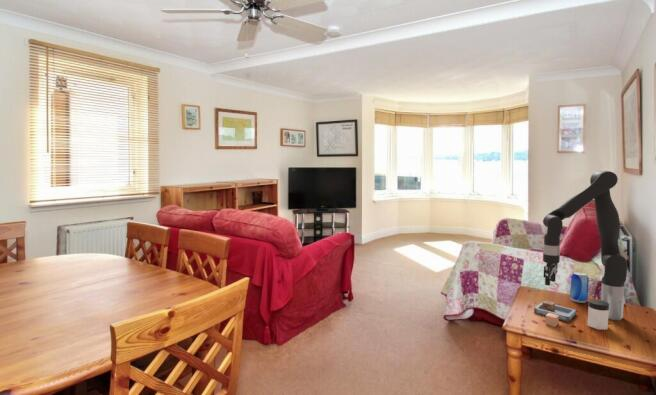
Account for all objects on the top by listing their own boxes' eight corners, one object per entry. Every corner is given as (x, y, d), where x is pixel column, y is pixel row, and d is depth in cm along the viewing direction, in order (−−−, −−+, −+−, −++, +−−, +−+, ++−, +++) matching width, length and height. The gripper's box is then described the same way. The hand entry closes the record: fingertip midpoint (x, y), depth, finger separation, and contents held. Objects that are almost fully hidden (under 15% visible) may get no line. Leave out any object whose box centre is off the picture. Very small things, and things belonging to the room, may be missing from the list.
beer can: (590, 303, 212) (592, 275, 210) (575, 303, 212) (577, 275, 210) (581, 297, 220) (582, 271, 219) (566, 298, 220) (568, 271, 219)
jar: (612, 328, 181) (613, 303, 180) (602, 331, 177) (604, 306, 176) (592, 321, 189) (593, 297, 188) (582, 324, 185) (584, 300, 184)
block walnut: (554, 310, 200) (555, 302, 200) (551, 313, 197) (552, 304, 197) (545, 308, 204) (545, 300, 203) (542, 310, 201) (542, 302, 200)
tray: (575, 314, 197) (576, 309, 197) (568, 321, 188) (568, 317, 188) (542, 306, 209) (542, 301, 208) (533, 312, 200) (534, 308, 200)
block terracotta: (558, 324, 186) (558, 315, 185) (555, 327, 183) (555, 318, 182) (548, 321, 189) (548, 312, 189) (545, 324, 186) (545, 315, 186)
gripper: (555, 256, 190) (553, 288, 191) (563, 251, 199) (562, 281, 201) (538, 254, 195) (537, 284, 197) (547, 249, 205) (546, 278, 206)
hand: (550, 283), depth 199 cm, fingers open, 8 cm apart
